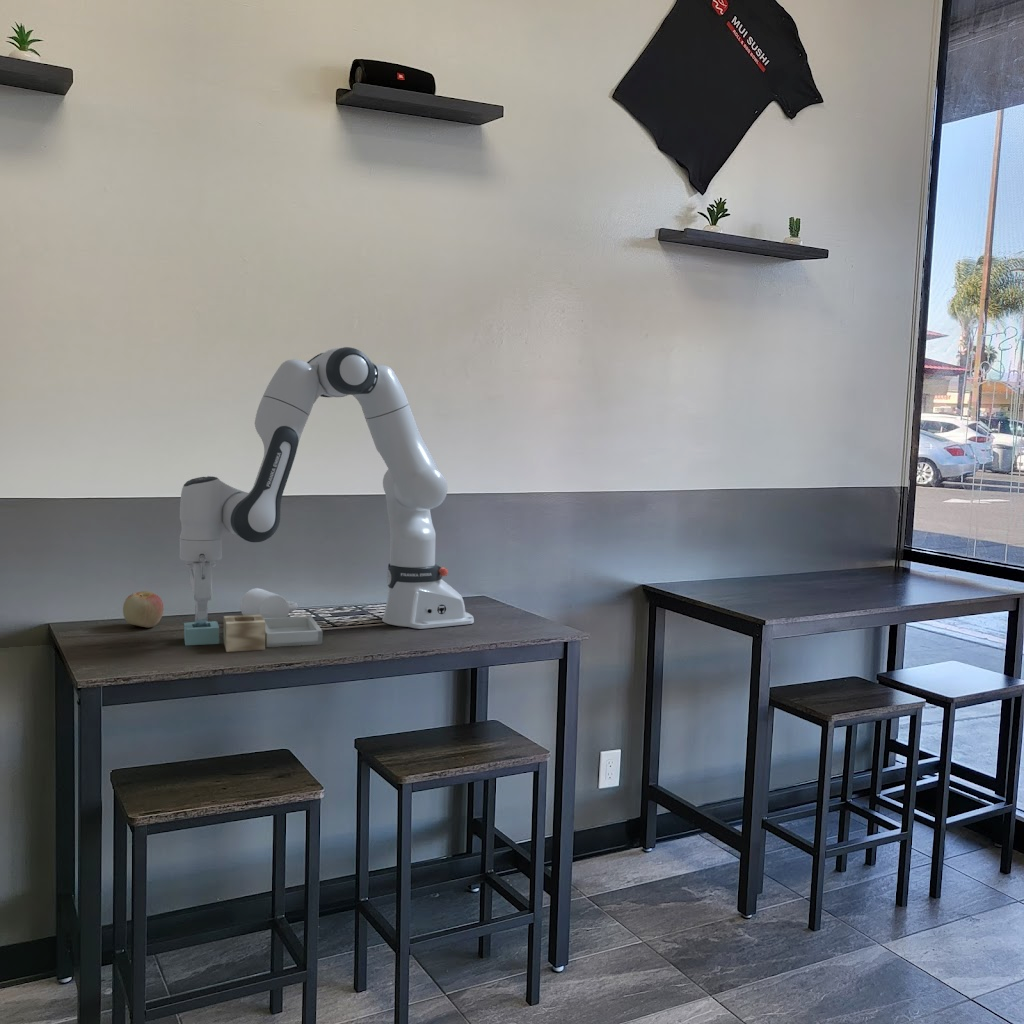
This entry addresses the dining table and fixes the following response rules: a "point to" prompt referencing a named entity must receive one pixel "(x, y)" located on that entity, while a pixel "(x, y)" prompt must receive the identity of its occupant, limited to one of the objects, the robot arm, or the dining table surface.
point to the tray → (292, 631)
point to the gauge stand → (201, 634)
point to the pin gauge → (201, 621)
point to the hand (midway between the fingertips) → (200, 613)
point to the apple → (143, 609)
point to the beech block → (244, 633)
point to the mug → (266, 604)
